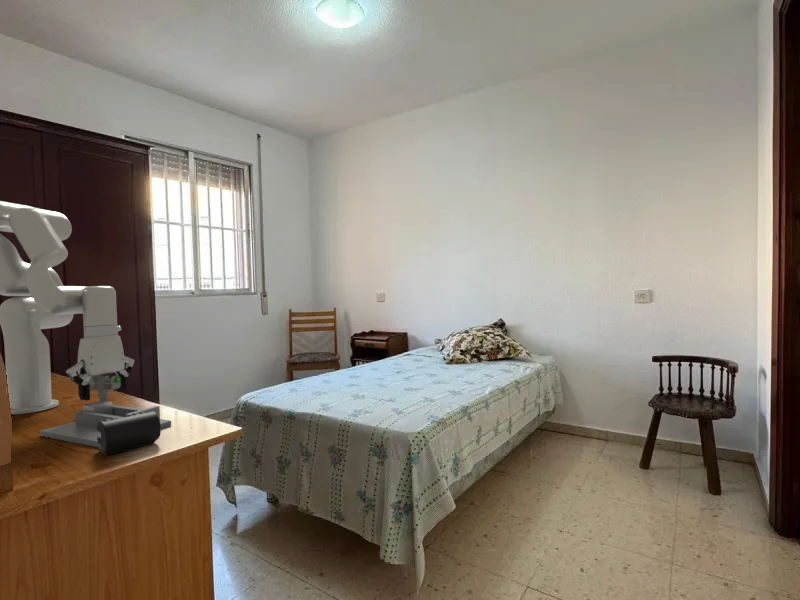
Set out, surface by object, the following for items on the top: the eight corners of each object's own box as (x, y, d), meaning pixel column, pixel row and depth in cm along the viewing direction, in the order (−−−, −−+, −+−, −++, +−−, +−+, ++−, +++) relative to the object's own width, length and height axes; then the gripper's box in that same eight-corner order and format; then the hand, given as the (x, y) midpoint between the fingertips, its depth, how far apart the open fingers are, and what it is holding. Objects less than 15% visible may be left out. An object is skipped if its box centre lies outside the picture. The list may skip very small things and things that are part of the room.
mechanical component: (115, 414, 116) (114, 377, 116) (83, 413, 118) (81, 376, 118) (124, 411, 119) (123, 374, 119) (92, 410, 121) (91, 374, 121)
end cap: (106, 460, 85) (105, 425, 84) (95, 452, 89) (94, 418, 89) (161, 445, 92) (160, 413, 92) (148, 438, 97) (147, 408, 97)
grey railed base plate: (40, 436, 100) (39, 413, 99) (111, 416, 114) (110, 396, 114) (103, 448, 91) (102, 423, 91) (171, 425, 106) (170, 404, 105)
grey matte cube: (83, 421, 106) (82, 404, 106) (102, 416, 110) (101, 400, 110) (94, 423, 104) (93, 406, 104) (112, 417, 108) (112, 401, 108)
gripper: (123, 328, 127) (125, 387, 128) (56, 335, 111) (60, 402, 112) (140, 329, 124) (143, 389, 125) (75, 335, 108) (78, 404, 109)
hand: (104, 395), depth 118 cm, fingers open, 9 cm apart
